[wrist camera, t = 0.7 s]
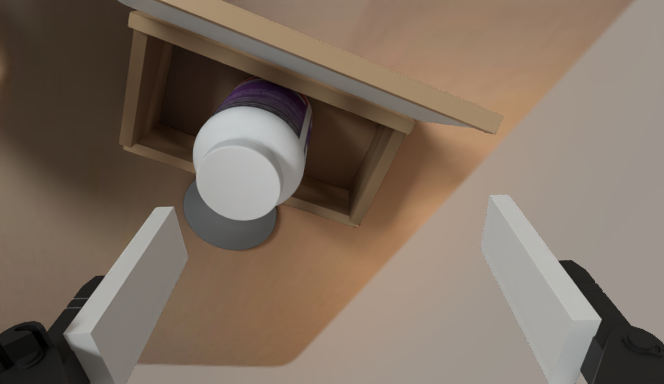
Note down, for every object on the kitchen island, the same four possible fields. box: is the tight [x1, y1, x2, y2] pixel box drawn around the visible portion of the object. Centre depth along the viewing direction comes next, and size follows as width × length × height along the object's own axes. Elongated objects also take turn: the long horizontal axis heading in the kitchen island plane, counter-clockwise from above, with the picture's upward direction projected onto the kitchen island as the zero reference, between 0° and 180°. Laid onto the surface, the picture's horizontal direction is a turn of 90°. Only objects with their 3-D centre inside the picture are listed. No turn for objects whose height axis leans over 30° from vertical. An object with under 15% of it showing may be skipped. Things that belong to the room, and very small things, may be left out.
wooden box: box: [119, 10, 415, 228], centre depth 35 cm, size 22×12×7 cm, turn 69°
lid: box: [117, 0, 504, 134], centre depth 23 cm, size 22×12×1 cm
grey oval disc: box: [183, 179, 277, 250], centre depth 44 cm, size 10×10×1 cm
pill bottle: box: [193, 76, 313, 221], centre depth 32 cm, size 8×8×14 cm
